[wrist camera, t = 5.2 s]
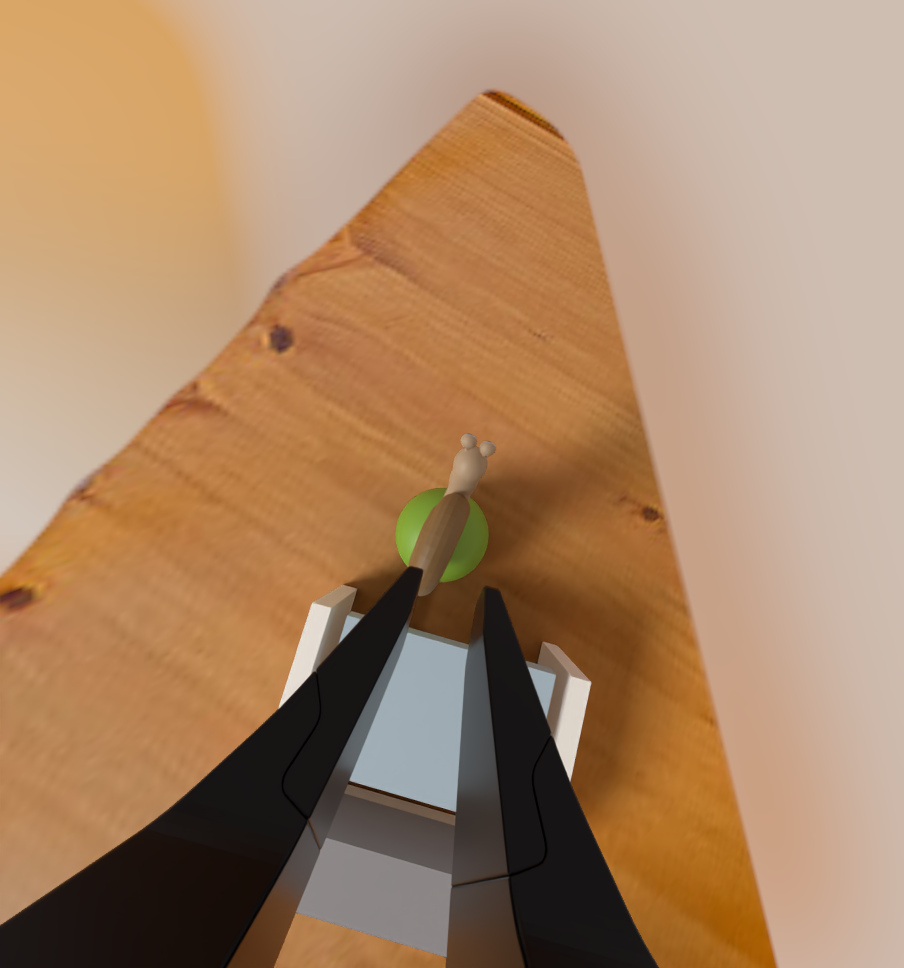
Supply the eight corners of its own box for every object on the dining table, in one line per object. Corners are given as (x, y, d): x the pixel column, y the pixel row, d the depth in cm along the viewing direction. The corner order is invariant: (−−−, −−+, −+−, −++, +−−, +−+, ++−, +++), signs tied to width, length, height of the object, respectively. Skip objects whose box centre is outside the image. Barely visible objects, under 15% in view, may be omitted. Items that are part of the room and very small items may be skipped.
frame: (557, 645, 21) (591, 682, 16) (511, 847, 20) (534, 954, 15) (342, 584, 22) (312, 602, 17) (281, 780, 20) (228, 863, 15)
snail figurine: (499, 496, 23) (560, 465, 11) (465, 586, 22) (490, 662, 10) (425, 467, 23) (404, 404, 11) (389, 556, 22) (322, 594, 10)
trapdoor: (546, 661, 18) (562, 682, 15) (490, 906, 16) (497, 972, 14) (355, 607, 18) (342, 620, 15) (283, 845, 16) (255, 900, 14)
